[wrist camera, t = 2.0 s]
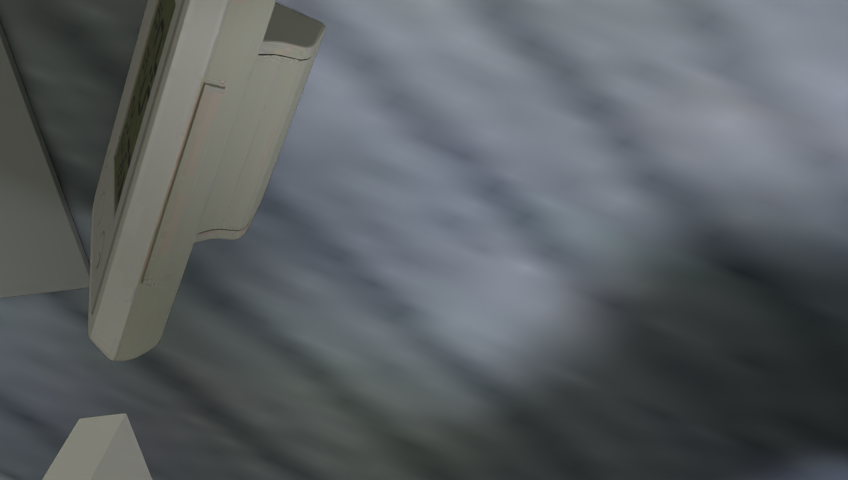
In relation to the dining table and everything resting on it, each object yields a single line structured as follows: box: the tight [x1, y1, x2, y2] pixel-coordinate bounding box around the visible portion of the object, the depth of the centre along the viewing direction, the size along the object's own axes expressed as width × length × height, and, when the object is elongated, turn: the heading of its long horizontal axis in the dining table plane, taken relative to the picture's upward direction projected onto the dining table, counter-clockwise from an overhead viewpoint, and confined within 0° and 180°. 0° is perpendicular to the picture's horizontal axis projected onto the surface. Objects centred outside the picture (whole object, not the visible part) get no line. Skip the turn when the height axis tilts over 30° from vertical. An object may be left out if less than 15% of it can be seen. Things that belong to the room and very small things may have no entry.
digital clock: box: [88, 0, 326, 361], centre depth 31 cm, size 16×9×11 cm, turn 145°
